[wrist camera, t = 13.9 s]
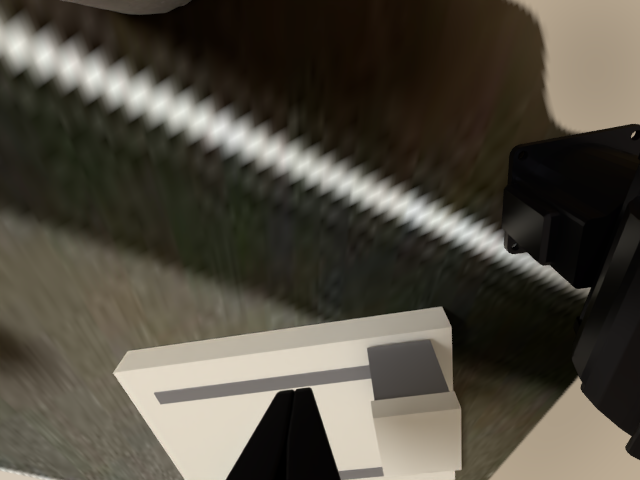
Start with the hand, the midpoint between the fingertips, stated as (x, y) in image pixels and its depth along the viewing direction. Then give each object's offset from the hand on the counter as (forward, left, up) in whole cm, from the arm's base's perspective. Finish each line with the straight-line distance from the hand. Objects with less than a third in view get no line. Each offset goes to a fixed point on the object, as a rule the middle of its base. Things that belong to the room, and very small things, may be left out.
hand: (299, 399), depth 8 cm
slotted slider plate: (+4, +18, -13) cm, 23 cm away
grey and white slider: (-4, +12, -11) cm, 16 cm away
